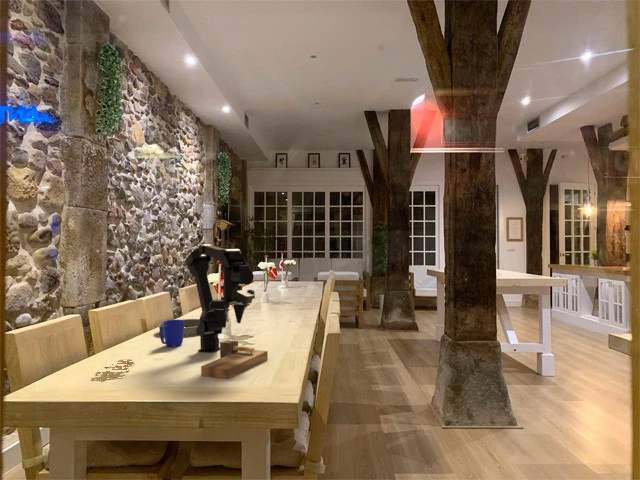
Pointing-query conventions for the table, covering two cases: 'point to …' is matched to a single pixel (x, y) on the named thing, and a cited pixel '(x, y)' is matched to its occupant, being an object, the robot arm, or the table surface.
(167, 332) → the mug
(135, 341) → the table surface
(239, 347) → the mallet
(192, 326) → the cake pan
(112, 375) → the lettering
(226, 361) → the plank
